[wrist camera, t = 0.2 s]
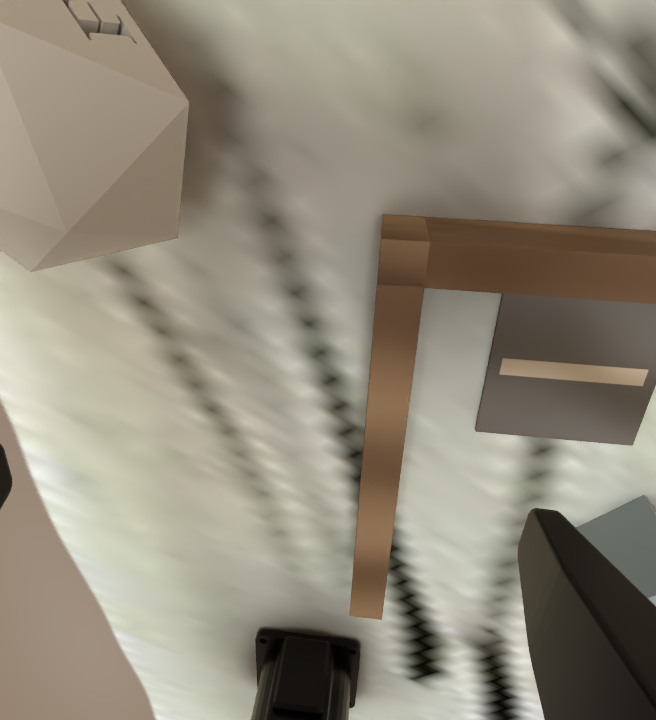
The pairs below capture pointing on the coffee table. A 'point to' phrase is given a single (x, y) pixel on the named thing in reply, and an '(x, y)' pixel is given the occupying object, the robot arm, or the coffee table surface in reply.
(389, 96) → the coffee table surface
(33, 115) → the die
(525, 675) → the coffee table surface
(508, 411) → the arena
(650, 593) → the cube
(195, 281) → the coffee table surface
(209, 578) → the coffee table surface
